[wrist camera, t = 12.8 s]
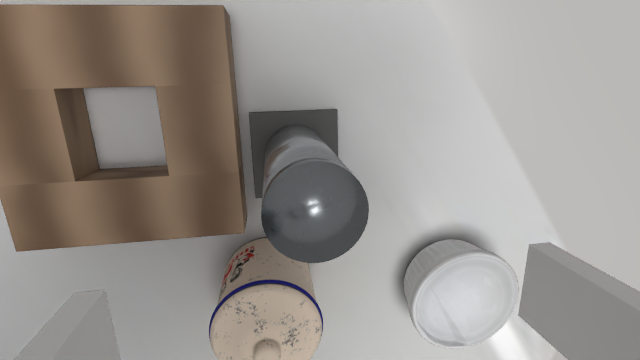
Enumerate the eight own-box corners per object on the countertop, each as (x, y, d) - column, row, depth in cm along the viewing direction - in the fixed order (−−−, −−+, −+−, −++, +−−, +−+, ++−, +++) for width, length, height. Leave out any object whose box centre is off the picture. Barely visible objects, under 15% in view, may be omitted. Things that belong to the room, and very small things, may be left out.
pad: (256, 196, 33) (255, 198, 33) (249, 112, 31) (248, 112, 30) (336, 190, 34) (338, 192, 34) (336, 109, 32) (337, 109, 31)
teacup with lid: (239, 223, 34) (224, 292, 23) (323, 248, 36) (348, 322, 25) (203, 323, 36) (174, 430, 25) (284, 341, 38) (290, 447, 27)
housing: (47, 231, 31) (16, 251, 27) (-11, 15, 26) (-58, 4, 22) (247, 216, 34) (244, 233, 30) (229, 15, 29) (223, 5, 25)
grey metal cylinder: (267, 185, 32) (265, 267, 18) (262, 125, 31) (257, 165, 17) (325, 181, 33) (367, 257, 19) (324, 123, 32) (369, 159, 17)
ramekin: (377, 301, 39) (393, 333, 34) (424, 215, 36) (449, 236, 31) (456, 328, 41) (482, 361, 36) (504, 249, 39) (539, 274, 34)
